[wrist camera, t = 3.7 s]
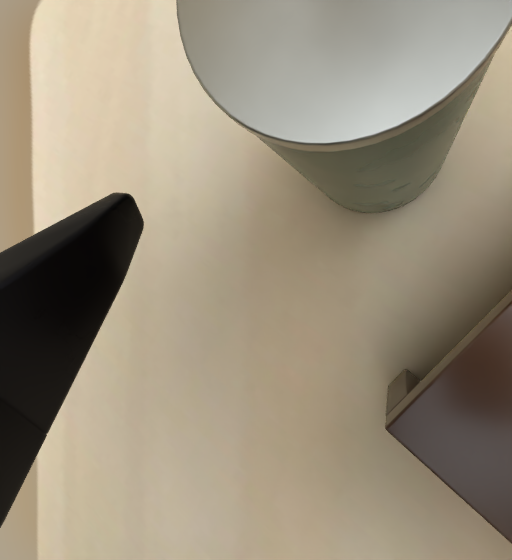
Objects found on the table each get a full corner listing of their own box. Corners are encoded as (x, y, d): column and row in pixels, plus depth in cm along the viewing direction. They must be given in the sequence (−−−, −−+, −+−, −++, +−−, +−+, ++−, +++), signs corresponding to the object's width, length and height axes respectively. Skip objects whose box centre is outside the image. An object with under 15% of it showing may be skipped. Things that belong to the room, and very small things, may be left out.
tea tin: (382, 241, 19) (356, 216, 7) (282, 162, 20) (120, 31, 9) (481, 126, 18) (652, -141, 6) (366, 49, 19) (311, -300, 7)
